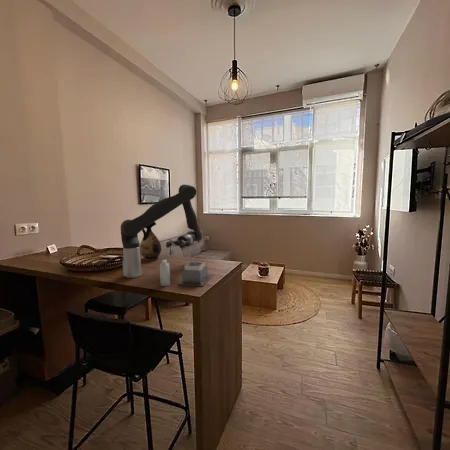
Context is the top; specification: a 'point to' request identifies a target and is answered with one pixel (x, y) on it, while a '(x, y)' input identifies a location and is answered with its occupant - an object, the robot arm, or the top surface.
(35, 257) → the top surface
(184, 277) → the grey socket base
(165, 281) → the bottle
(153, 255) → the ceramic jug
